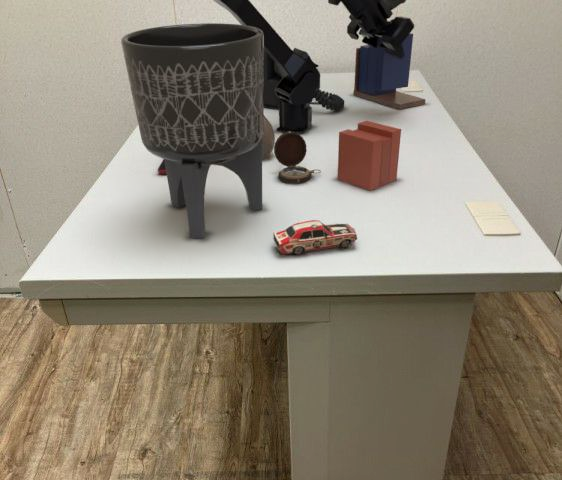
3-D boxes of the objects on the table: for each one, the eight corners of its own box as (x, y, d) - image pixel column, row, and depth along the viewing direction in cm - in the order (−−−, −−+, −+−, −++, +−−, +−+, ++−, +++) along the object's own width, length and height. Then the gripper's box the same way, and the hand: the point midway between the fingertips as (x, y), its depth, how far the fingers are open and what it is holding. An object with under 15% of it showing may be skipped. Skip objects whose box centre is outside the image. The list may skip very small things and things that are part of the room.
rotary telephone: (368, 98, 157) (372, 32, 148) (328, 118, 143) (330, 47, 134) (262, 85, 172) (260, 24, 163) (216, 102, 158) (211, 37, 149)
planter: (257, 245, 90) (246, 47, 74) (133, 238, 93) (96, 46, 77) (280, 196, 105) (275, 22, 89) (173, 191, 108) (149, 23, 92)
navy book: (381, 90, 139) (385, 36, 132) (373, 88, 141) (377, 34, 135) (408, 86, 142) (413, 33, 135) (400, 84, 144) (405, 31, 137)
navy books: (373, 95, 154) (376, 47, 148) (358, 91, 159) (360, 44, 152) (396, 91, 158) (400, 44, 151) (380, 86, 162) (383, 40, 155)
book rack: (399, 109, 148) (404, 59, 141) (353, 95, 160) (355, 48, 153) (425, 104, 151) (430, 54, 144) (377, 90, 164) (380, 44, 157)
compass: (282, 185, 109) (281, 144, 105) (274, 171, 115) (273, 131, 111) (325, 181, 110) (325, 140, 106) (314, 167, 117) (315, 128, 112)
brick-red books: (337, 179, 111) (338, 129, 106) (363, 169, 115) (366, 120, 109) (370, 190, 106) (373, 138, 101) (396, 180, 110) (401, 129, 105)
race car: (275, 252, 92) (270, 224, 89) (352, 233, 92) (349, 205, 89) (280, 267, 88) (274, 239, 85) (360, 248, 88) (357, 219, 85)
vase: (271, 162, 119) (269, 116, 114) (237, 161, 120) (234, 115, 115) (278, 151, 125) (277, 106, 119) (246, 150, 126) (243, 105, 120)
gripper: (412, -28, 119) (448, 30, 130) (361, -34, 133) (397, 20, 143) (375, 21, 121) (413, 74, 132) (329, 11, 135) (367, 60, 145)
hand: (398, 55), depth 138 cm, fingers closed on navy book, 3 cm apart
